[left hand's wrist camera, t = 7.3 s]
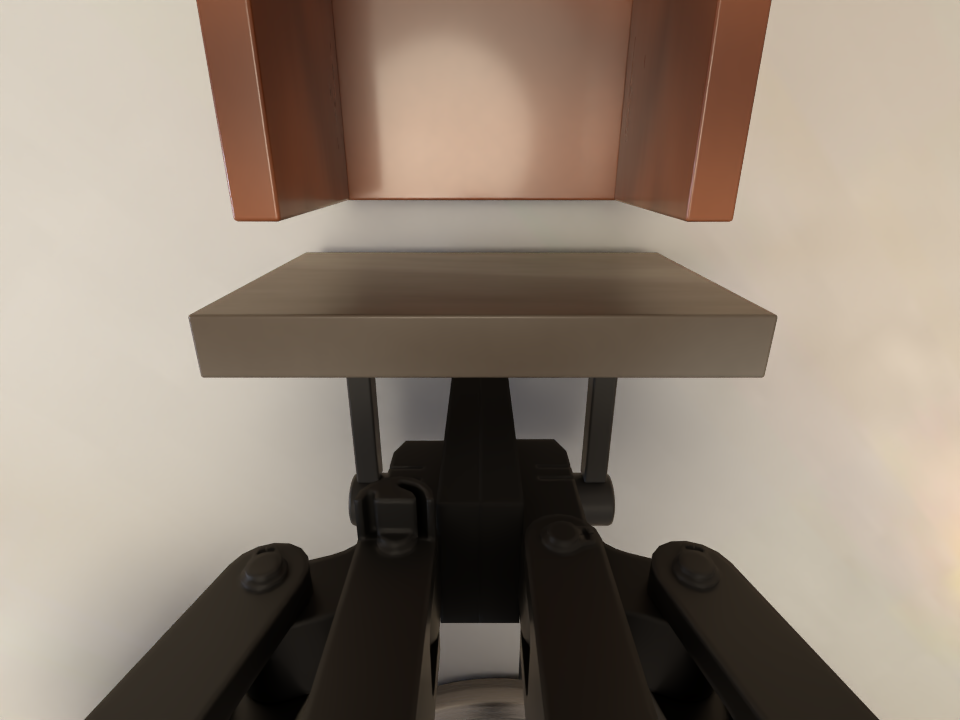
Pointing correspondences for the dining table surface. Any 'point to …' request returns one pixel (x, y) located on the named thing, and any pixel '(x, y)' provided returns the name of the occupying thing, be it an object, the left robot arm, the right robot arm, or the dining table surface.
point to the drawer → (484, 192)
